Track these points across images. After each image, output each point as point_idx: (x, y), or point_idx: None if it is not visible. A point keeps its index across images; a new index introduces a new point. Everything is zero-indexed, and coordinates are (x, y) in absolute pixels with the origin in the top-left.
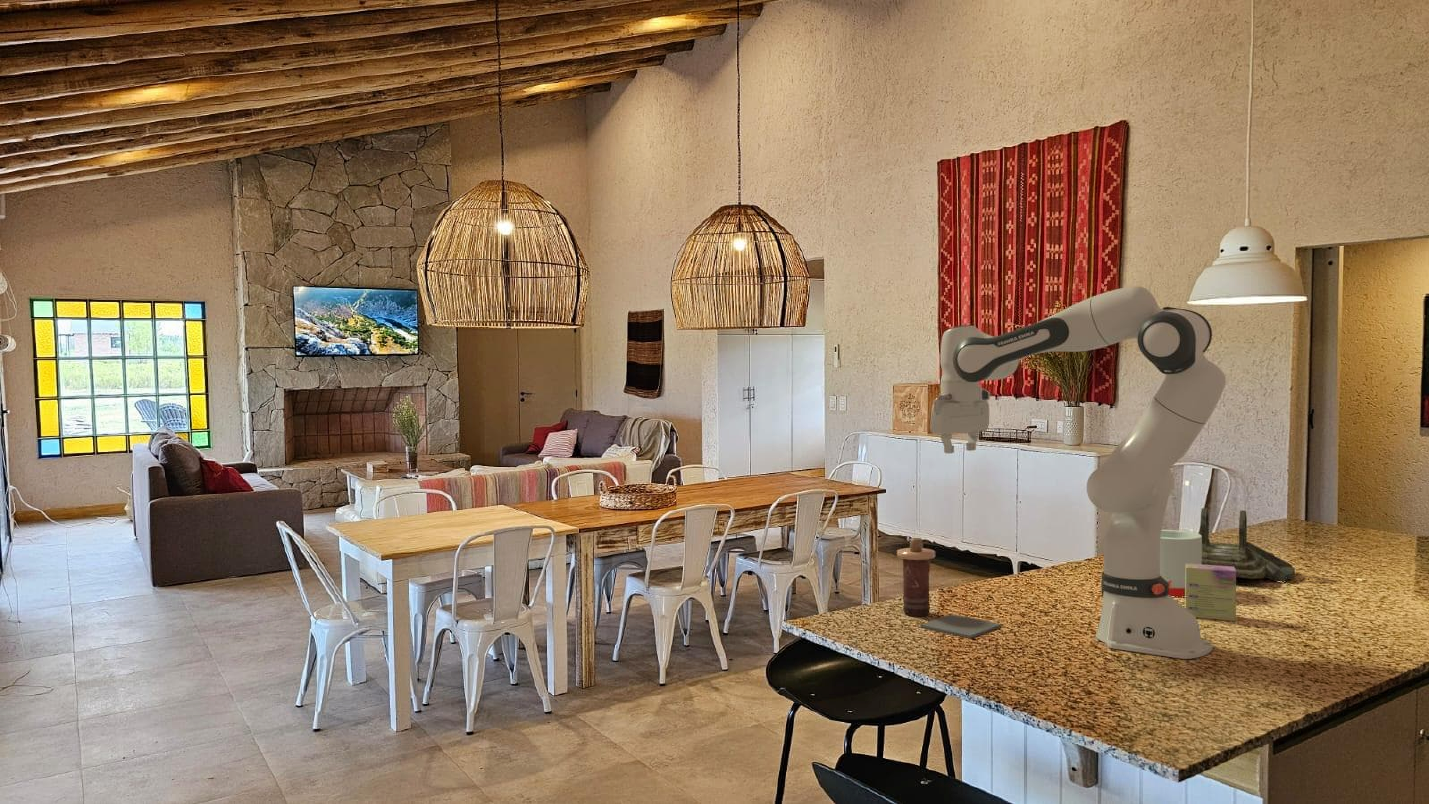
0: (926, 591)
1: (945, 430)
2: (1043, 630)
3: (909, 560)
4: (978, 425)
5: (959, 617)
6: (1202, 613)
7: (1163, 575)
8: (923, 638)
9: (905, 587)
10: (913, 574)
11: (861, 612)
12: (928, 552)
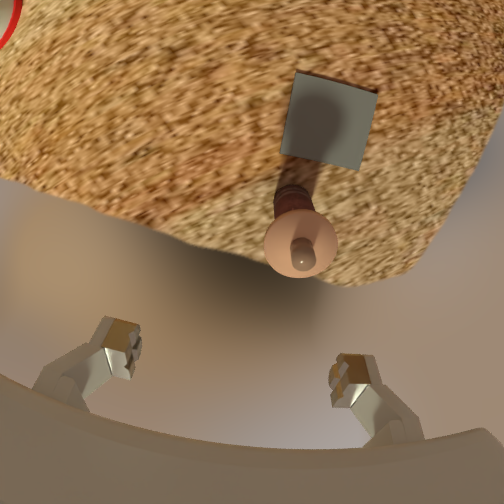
0: (301, 197)
1: (490, 443)
2: (280, 19)
3: None
4: (38, 434)
5: (293, 137)
6: None
7: (3, 5)
8: (402, 149)
9: None
10: None
11: None
12: (302, 223)
